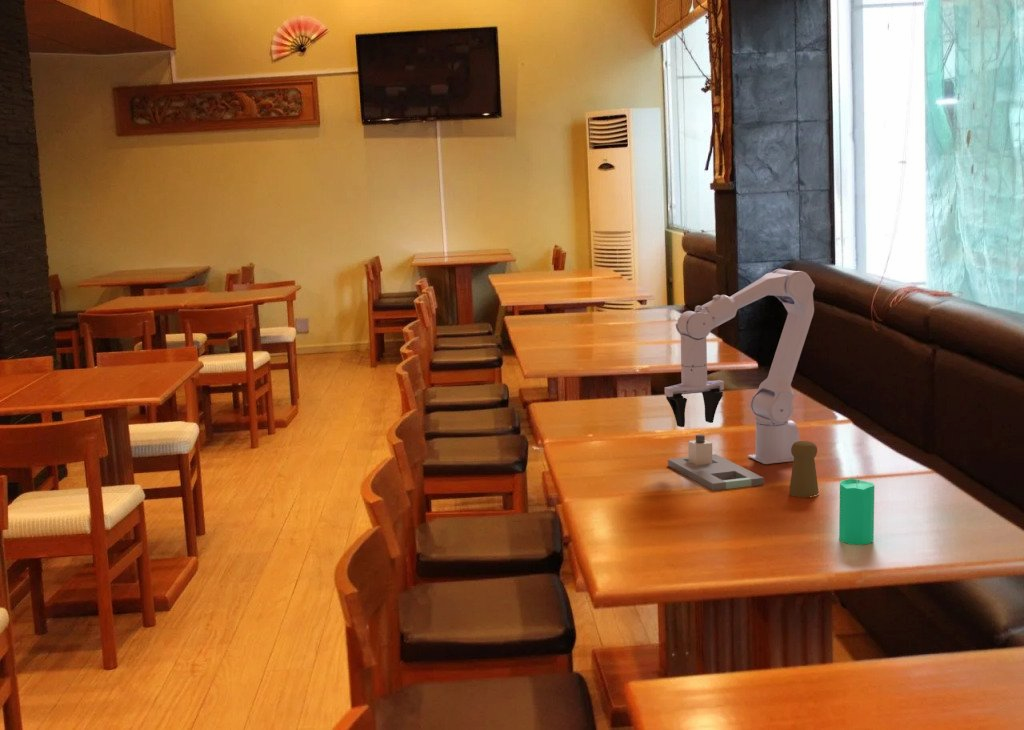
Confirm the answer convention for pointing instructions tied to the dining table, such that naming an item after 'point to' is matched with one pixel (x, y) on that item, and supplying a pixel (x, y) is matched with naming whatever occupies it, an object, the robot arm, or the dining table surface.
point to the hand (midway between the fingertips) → (695, 424)
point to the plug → (700, 451)
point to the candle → (856, 512)
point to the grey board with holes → (717, 473)
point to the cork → (803, 470)
